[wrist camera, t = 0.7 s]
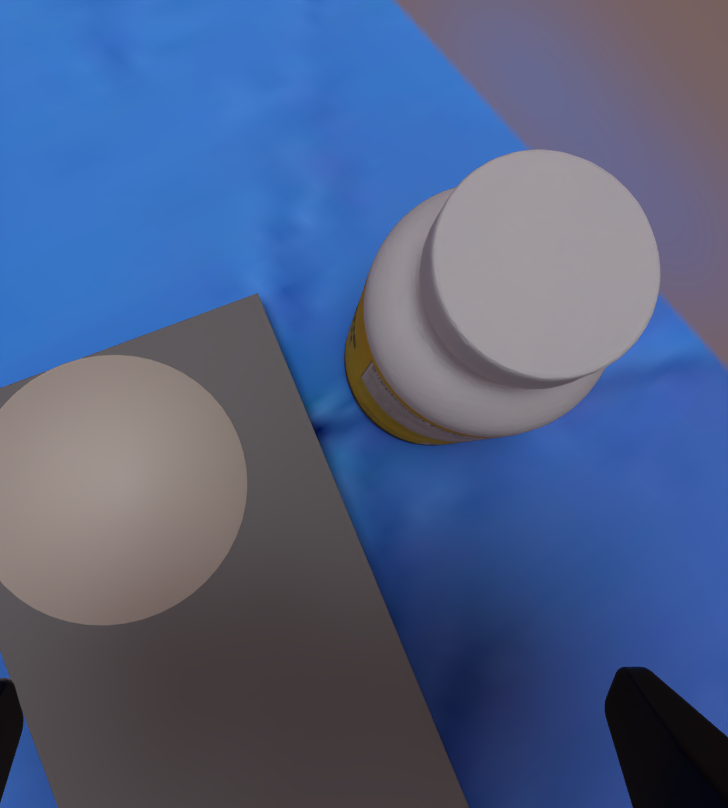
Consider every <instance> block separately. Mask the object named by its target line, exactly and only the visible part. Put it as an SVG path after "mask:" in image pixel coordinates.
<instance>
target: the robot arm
mask: <svg viewBox="0 0 728 808" xmlns="http://www.w3.org/2000/svg"><path fill="white" fill-rule="evenodd" d="M605 715H606V719H607V722H608V726H609V729H610V732H611V736H612V739H613V742H614V746H615V749H616V752H617V756H618V759H619V763H620V766H621V769H622V773H623V776H624V779H625V783H626V786H627V789H628V793H629V796H630V799H631V803H632V806H633V808H728V737H727V736H726V735H725V734H724V733H722V732H721V731H720V730H719V729H718V728H717V727H715V726H714V725H713V724H712V723H711V722H710V721H708V720H707V719H706V718H705V717H704V716H703V715H701V714H700V713H699V712H698V711H697V710H696V709H694V708H693V707H692V706H691V705H690V704H689V703H688V702H686V701H685V700H684V699H683V698H682V697H681V696H679V695H678V694H677V693H676V692H675V691H674V690H672V689H671V688H670V687H669V686H668V685H667V684H665V683H664V682H663V681H662V680H661V679H660V678H658V677H657V676H656V675H655V674H654V673H653V672H651V671H650V670H648V669H647V668H644V667H621V668H620V669H618V670H617V672H616V674H615V677H614V679H613V682H612V684H611V687H610V689H609V692H608V695H607V697H606V700H605ZM22 728H23V713H22V709H21V706H20V702H19V698H18V695H17V691H16V688H15V685H14V682H13V681H12V680H10V679H8V678H0V802H1V798H2V795H3V792H4V789H5V785H6V782H7V779H8V776H9V772H10V769H11V766H12V763H13V759H14V756H15V753H16V749H17V746H18V743H19V740H20V736H21V733H22Z"/></svg>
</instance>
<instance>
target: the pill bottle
mask: <svg viewBox="0 0 728 808" xmlns="http://www.w3.org/2000/svg"><path fill="white" fill-rule="evenodd" d="M659 286H660V261H659V254H658V249H657V244H656V241H655V238H654V234H653V232H652V229H651V227H650V225H649V222H648V219H647V217H646V215H645V214H644V212H643V210H642V208H641V207H640V205H639V203H638V202H637V201H636V199H635V198H634V197H633V196H632V194H631V193H630V192H629V191H628V190H627V189H626V188H625V187H624V186H623V185H622V184H621V183H620V182H619V181H618V180H617V179H616V178H614V177H613V176H612V175H611V174H610V173H608V172H606V171H605V170H603V169H602V168H600V167H599V166H597V165H596V164H594V163H592V162H589V161H587V160H585V159H582V158H579V157H577V156H574V155H571V154H568V153H563V152H559V151H550V150H526V151H519V152H514V153H511V154H507V155H504V156H501V157H498V158H495V159H493V160H491V161H489V162H487V163H486V164H484V165H482V166H481V167H479V168H477V169H476V170H474V171H473V172H472V173H470V174H469V175H468V176H467V177H466V178H465V179H464V180H463V181H462V182H461V183H460V184H459V185H458V186H457V187H456V188H452V189H449V190H446V191H444V192H441V193H439V194H437V195H434V196H432V197H430V198H429V199H427V200H425V201H424V202H422V203H420V204H419V205H418V206H416V207H415V208H413V209H412V210H411V211H410V212H409V213H407V214H406V215H405V216H404V217H403V218H402V219H401V220H400V221H399V222H398V223H397V224H396V226H395V227H394V228H393V229H392V231H391V232H390V233H389V234H388V236H387V237H386V239H385V240H384V242H383V243H382V245H381V247H380V249H379V251H378V253H377V255H376V257H375V259H374V261H373V263H372V266H371V268H370V271H369V274H368V277H367V280H366V283H365V286H364V289H363V292H362V295H361V298H360V301H359V303H358V306H357V309H356V312H355V315H354V317H353V320H352V323H351V326H350V329H349V332H348V336H347V339H346V345H345V355H344V362H345V372H346V377H347V381H348V385H349V387H350V390H351V392H352V395H353V397H354V399H355V401H356V402H357V404H358V406H359V407H360V408H361V410H362V411H363V412H364V414H365V415H366V416H367V417H368V418H369V419H370V420H371V421H372V422H373V423H374V424H375V425H376V426H378V427H379V428H380V429H382V430H383V431H385V432H386V433H388V434H390V435H392V436H393V437H396V438H398V439H401V440H403V441H406V442H410V443H414V444H420V445H446V444H453V443H460V442H468V441H476V440H483V439H491V438H498V437H506V436H511V435H517V434H520V433H524V432H528V431H531V430H534V429H537V428H539V427H542V426H544V425H547V424H549V423H551V422H553V421H554V420H556V419H558V418H560V417H561V416H563V415H564V414H566V413H567V412H569V411H570V410H571V409H572V408H573V407H575V406H576V405H577V404H578V403H579V402H580V401H581V400H582V399H583V398H584V397H585V396H586V395H587V394H588V393H589V392H590V390H591V389H592V388H593V387H594V385H595V384H596V382H597V381H598V379H599V378H600V376H601V375H602V373H603V371H604V369H605V368H606V367H607V366H608V365H610V364H612V363H613V362H615V361H616V360H617V359H619V358H620V357H621V356H622V355H624V354H625V353H626V352H627V351H628V350H629V349H630V348H631V347H632V346H633V344H634V343H635V342H636V341H637V340H638V339H639V337H640V335H641V334H642V332H643V331H644V329H645V328H646V326H647V325H648V322H649V320H650V319H651V317H652V314H653V311H654V308H655V305H656V301H657V297H658V293H659Z"/></svg>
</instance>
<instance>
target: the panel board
mask: <svg viewBox="0 0 728 808" xmlns="http://www.w3.org/2000/svg"><path fill="white" fill-rule="evenodd" d="M0 651H1V654H2V657H3V659H4V662H5V665H6V668H7V670H8V673H9V676H10V678H11V680H12V681H13V682H14V685H15V688H16V691H17V695H18V698H19V702H20V705H21V708H22V711H23V714H24V716H25V719H26V722H27V724H28V727H29V730H30V733H31V735H32V738H33V741H34V743H35V746H36V749H37V752H38V754H39V757H40V760H41V762H42V765H43V768H44V770H45V773H46V776H47V779H48V781H49V784H50V787H51V789H52V792H53V795H54V798H55V800H56V803H57V806H58V808H469V806H468V804H467V801H466V799H465V797H464V794H463V792H462V789H461V787H460V784H459V782H458V780H457V777H456V775H455V772H454V770H453V767H452V765H451V763H450V760H449V758H448V755H447V753H446V750H445V748H444V745H443V743H442V741H441V738H440V736H439V733H438V731H437V728H436V726H435V724H434V721H433V719H432V716H431V714H430V711H429V709H428V707H427V704H426V702H425V699H424V697H423V694H422V692H421V690H420V687H419V685H418V682H417V680H416V677H415V675H414V672H413V670H412V668H411V665H410V663H409V660H408V658H407V655H406V653H405V651H404V648H403V646H402V643H401V641H400V638H399V636H398V634H397V631H396V629H395V626H394V624H393V621H392V619H391V617H390V614H389V612H388V609H387V607H386V604H385V602H384V599H383V597H382V595H381V592H380V590H379V587H378V585H377V582H376V580H375V578H374V575H373V573H372V570H371V568H370V565H369V563H368V561H367V558H366V556H365V553H364V551H363V548H362V546H361V544H360V541H359V539H358V536H357V534H356V531H355V529H354V526H353V524H352V522H351V519H350V517H349V514H348V512H347V509H346V507H345V505H344V502H343V500H342V497H341V495H340V492H339V490H338V488H337V485H336V483H335V480H334V478H333V475H332V473H331V471H330V468H329V466H328V463H327V461H326V458H325V456H324V453H323V451H322V449H321V446H320V444H319V441H318V439H317V436H316V434H315V432H314V429H313V427H312V424H311V422H310V419H309V417H308V415H307V412H306V410H305V407H304V405H303V402H302V400H301V398H300V395H299V393H298V390H297V388H296V385H295V383H294V380H293V378H292V376H291V373H290V371H289V368H288V366H287V363H286V361H285V359H284V356H283V354H282V351H281V349H280V346H279V344H278V342H277V339H276V337H275V334H274V332H273V329H272V327H271V325H270V322H269V320H268V317H267V315H266V312H265V310H264V307H263V305H262V303H261V300H260V298H259V295H258V293H257V294H254V295H252V296H249V297H246V298H243V299H241V300H238V301H235V302H233V303H230V304H227V305H225V306H222V307H219V308H216V309H214V310H211V311H208V312H206V313H203V314H200V315H197V316H195V317H192V318H189V319H187V320H184V321H181V322H178V323H176V324H173V325H170V326H168V327H165V328H162V329H159V330H157V331H154V332H151V333H149V334H146V335H143V336H140V337H138V338H135V339H132V340H130V341H127V342H124V343H121V344H119V345H116V346H113V347H111V348H108V349H105V350H102V351H100V352H97V353H94V354H92V355H89V356H86V357H83V358H81V359H78V360H75V361H72V362H68V363H65V364H62V365H60V366H58V367H55V368H53V369H51V370H48V371H46V372H43V373H40V374H37V375H35V376H32V377H29V378H27V379H24V380H21V381H18V382H16V383H13V384H10V385H8V386H5V387H2V388H0Z"/></svg>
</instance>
